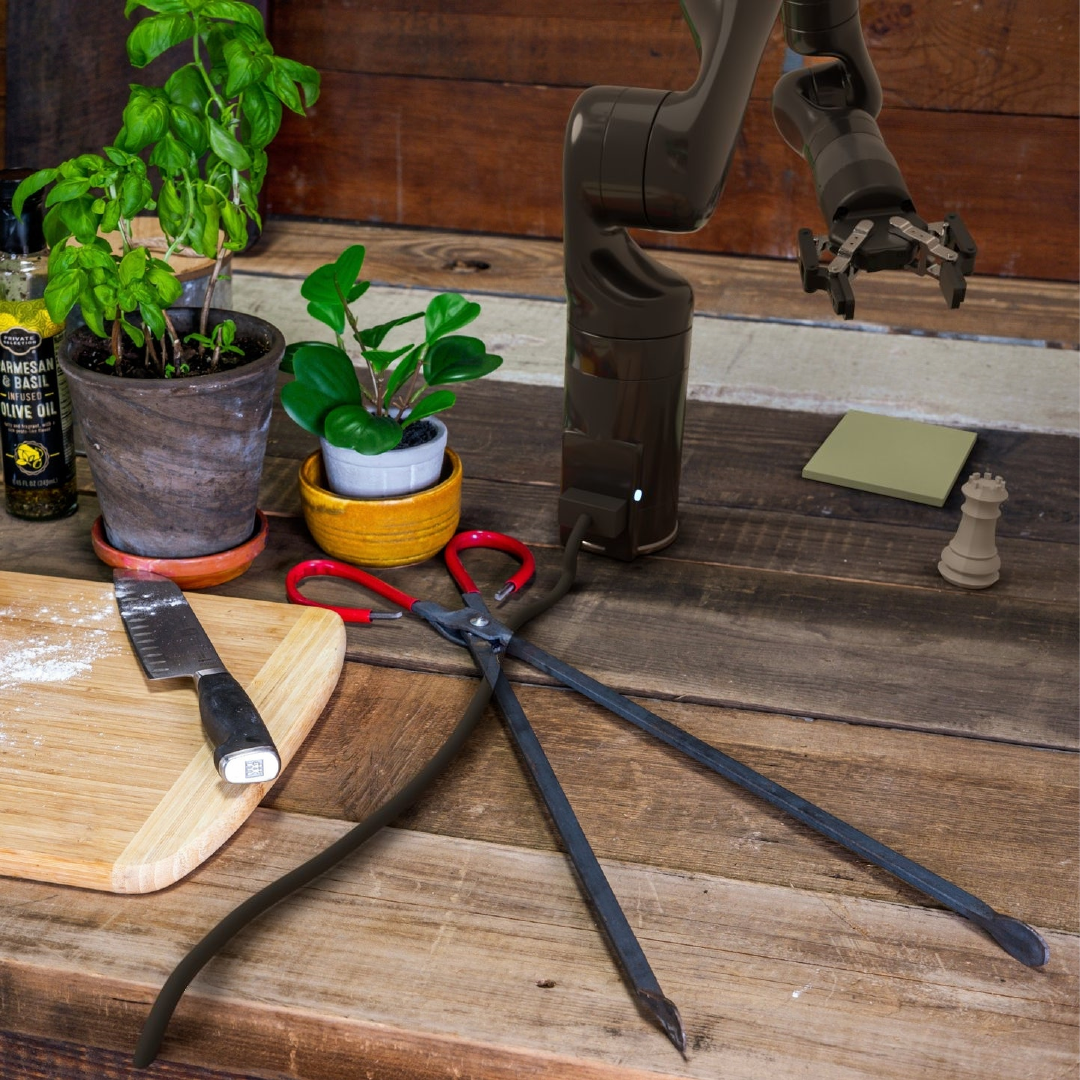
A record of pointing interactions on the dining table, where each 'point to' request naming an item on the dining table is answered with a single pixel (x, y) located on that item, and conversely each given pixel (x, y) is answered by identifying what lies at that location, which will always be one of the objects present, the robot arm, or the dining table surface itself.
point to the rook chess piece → (975, 535)
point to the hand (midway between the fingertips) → (903, 306)
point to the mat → (892, 457)
